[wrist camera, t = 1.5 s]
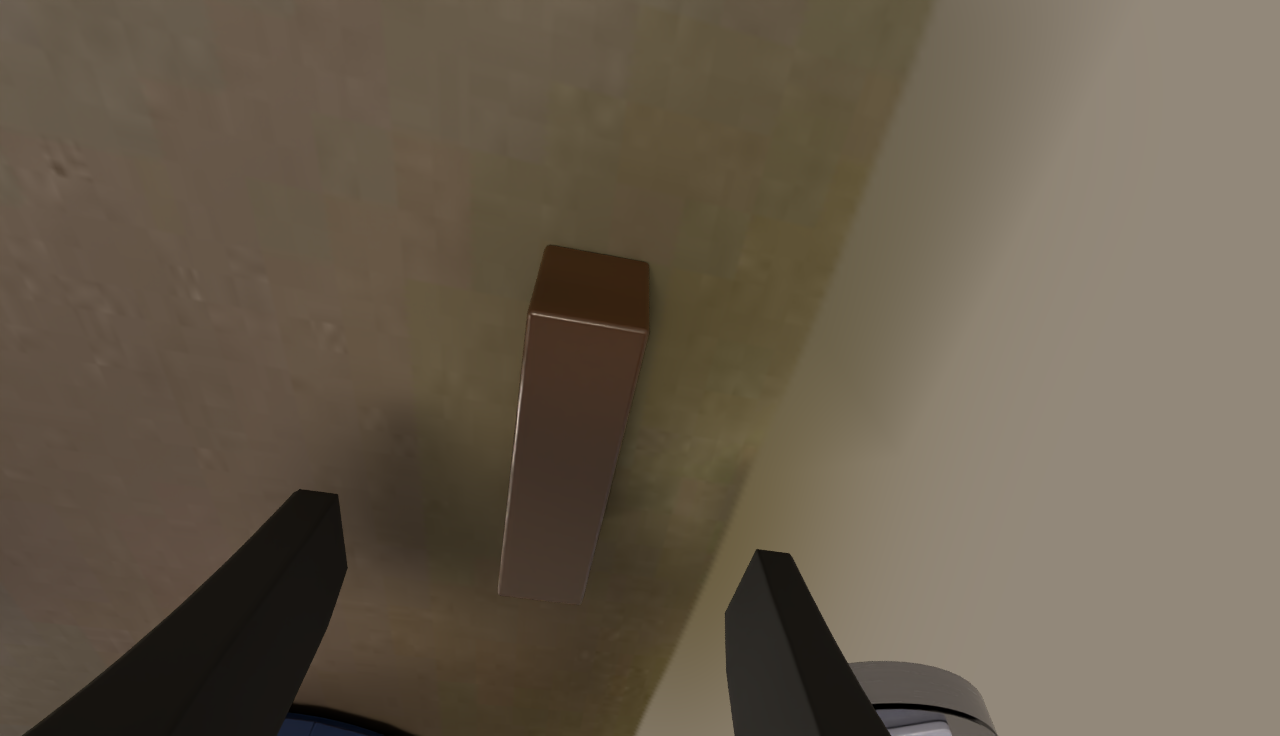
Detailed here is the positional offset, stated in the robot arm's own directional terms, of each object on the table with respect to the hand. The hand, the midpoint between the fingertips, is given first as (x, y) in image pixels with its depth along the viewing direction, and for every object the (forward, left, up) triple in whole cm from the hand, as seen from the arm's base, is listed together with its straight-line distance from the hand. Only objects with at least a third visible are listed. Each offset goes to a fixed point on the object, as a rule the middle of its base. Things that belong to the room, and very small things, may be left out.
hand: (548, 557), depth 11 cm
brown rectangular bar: (0, 0, -4) cm, 4 cm away
